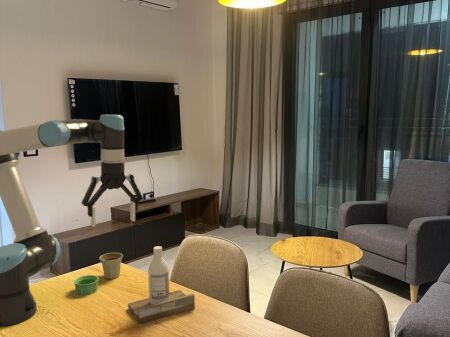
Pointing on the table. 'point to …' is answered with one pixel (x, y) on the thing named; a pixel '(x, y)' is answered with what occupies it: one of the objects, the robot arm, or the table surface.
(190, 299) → the brown piece
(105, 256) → the flower pot
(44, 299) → the table surface
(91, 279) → the ramekin
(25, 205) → the robot arm
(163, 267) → the bath foam
